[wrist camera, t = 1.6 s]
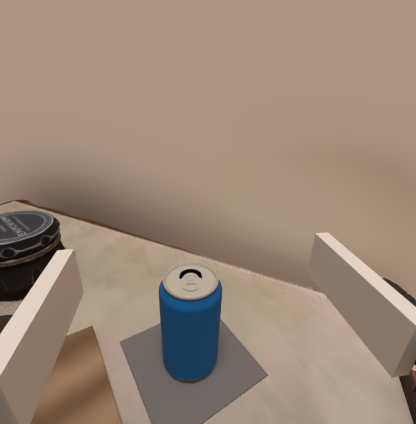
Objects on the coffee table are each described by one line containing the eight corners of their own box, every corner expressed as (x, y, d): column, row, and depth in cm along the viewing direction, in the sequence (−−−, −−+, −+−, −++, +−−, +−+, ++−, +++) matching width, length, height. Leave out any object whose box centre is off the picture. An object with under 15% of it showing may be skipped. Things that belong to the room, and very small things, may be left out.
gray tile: (120, 342, 33) (120, 341, 33) (206, 302, 39) (206, 302, 39) (162, 452, 23) (162, 451, 23) (267, 375, 30) (268, 374, 29)
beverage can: (214, 333, 34) (218, 258, 29) (220, 383, 28) (227, 300, 23) (164, 335, 34) (160, 259, 29) (160, 386, 28) (154, 303, 23)
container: (86, 261, 48) (76, 213, 43) (25, 314, 36) (4, 255, 32) (29, 250, 50) (15, 203, 46) (-44, 295, 39) (-72, 239, 35)
